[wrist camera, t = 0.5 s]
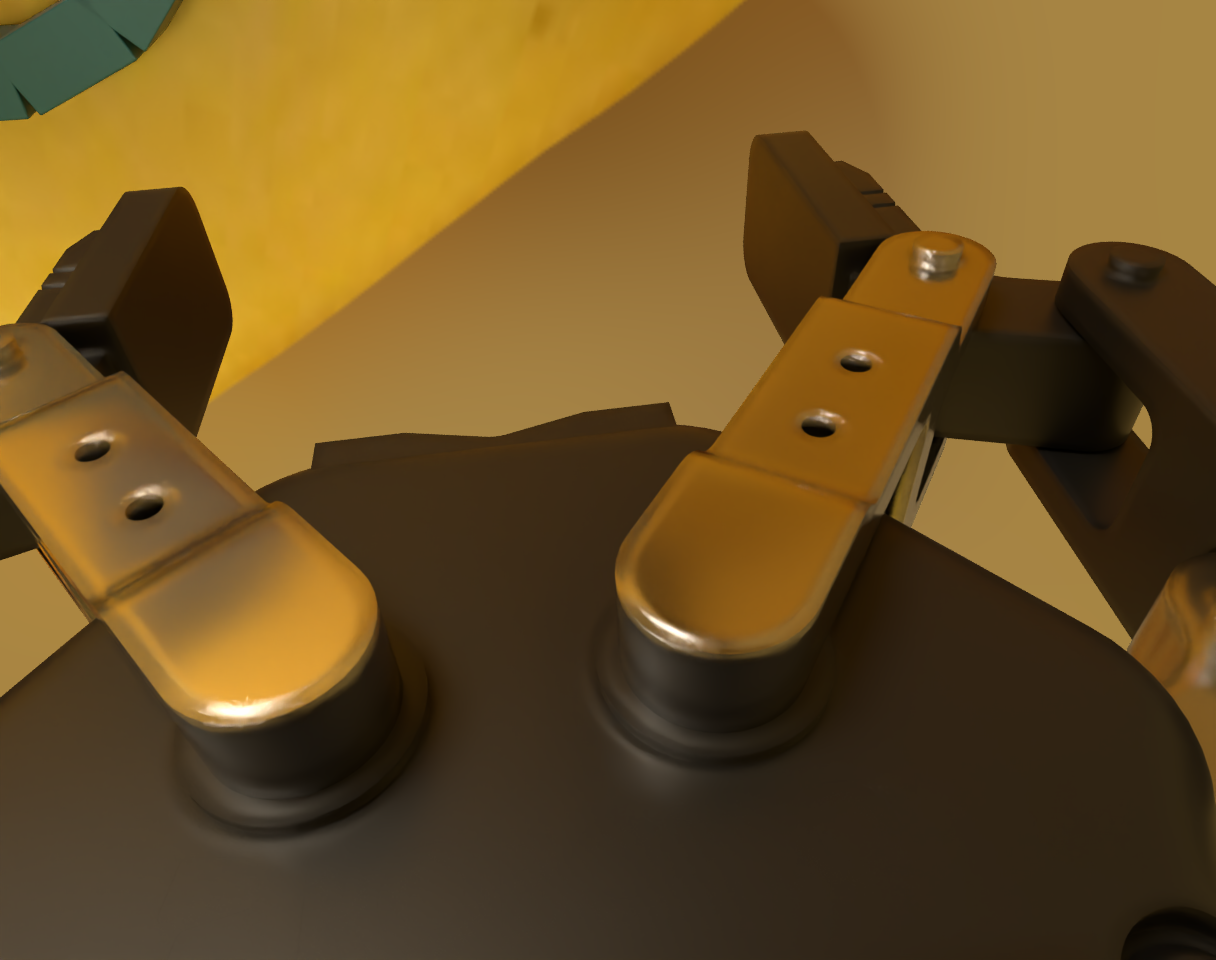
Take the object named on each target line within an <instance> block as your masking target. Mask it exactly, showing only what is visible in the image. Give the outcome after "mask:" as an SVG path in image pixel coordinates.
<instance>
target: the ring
mask: <svg viewBox="0 0 1216 960" xmlns="http://www.w3.org/2000/svg"><path fill="white" fill-rule="evenodd" d="M182 1H183V0H59V1H58V2H56V3H54V4H53V5H51V6H49V7H48V8H46V9H44V10H43V11H41V12H39V13H38V14H36V15H34V16H33V17H31V18H29V19H28V20H26V21H24V22H23V23H21V24H18V25H2V26H0V121H7V120H21V119H29V118H30V117H31V116H32V115H33V114H34V113H35V112H36V111H37V112H38V113H39V114H40V115H43V114H45V113H47V112H48V111H50V110H52V109H54V108H55V107H57V106H59V105H61V104H62V103H64V102H66V101H67V100H69V99H71V98H73V97H74V96H76V95H78V94H80V93H81V92H83V91H85V90H86V89H88V88H90V87H92V86H93V85H95V84H97V83H99V82H100V81H102V80H104V79H105V78H107V77H109V76H111V75H112V74H114V73H116V72H118V71H119V70H121V69H123V68H124V67H126V66H128V65H130V64H131V63H133V62H135V61H136V60H137V59H138V58H139V57H140V56H141V55H142V54H143V53H144V52H145V51H147V49H148V48H149V47H150V46H151V45H152V44H153V43H154V42H155V41H156V40H157V38H158V37H159V36H160V35H161V34H162V33H163V32H164V31H165V30H166V28H167V27H168V25H169V23H170V21H171V20H172V18H173V16H174V15H175V13H176V11H177V10H178V8H179V6H180V4H181V3H182Z"/></svg>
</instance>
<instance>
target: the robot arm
mask: <svg viewBox="0 0 1216 960" xmlns="http://www.w3.org/2000/svg"><path fill="white" fill-rule="evenodd" d="M743 243H744V245H743V247H744V260H745V266H746V271H747V274H748V277H749V280H750V281H751V283H752V285H753V287H754V289H755V291H756V293H757V294H758V296H759V298H760V300H761V302H762V304H763V306H764V307H765V309H766V311H767V313H768V315H769V317H770V318H771V320H772V322H773V324H774V326H775V328H776V330H777V332H778V333H779V335H780V337H781V339H782V341H783V343H784V346H783V348H782V349H781V350H780V352H779V353H778V355H777V356H776V357H775V359H774V360H773V362H772V363H771V364H770V366H769V367H768V368H767V370H766V371H765V373H764V374H763V375H762V377H761V378H760V380H759V381H758V383H757V384H756V385H755V387H754V388H753V389H752V391H751V392H750V394H749V395H748V396H747V398H746V399H745V401H744V402H743V403H742V405H741V406H740V408H739V409H738V410H737V412H736V413H735V415H734V416H733V417H732V419H731V420H730V422H729V423H728V424H727V426H726V427H725V429H724V430H723V431H722V432H721V431H716V430H712V429H707V428H701V427H694V426H686V425H676V422H675V419H674V416H673V413H672V410H671V407H670V404H669V402H666V403H658V404H650V405H642V406H632V407H624V408H615V409H607V410H598V411H589V412H583V413H579V414H576V415H572V416H569V417H565V418H562V419H559V420H555V421H551V422H548V423H545V424H541V425H538V426H534V427H531V428H528V429H524V430H520V431H517V432H513V433H510V434H507V435H502V436H496V437H478V436H457V435H435V434H416V433H400V434H392V435H383V436H374V437H365V438H357V439H348V440H340V441H331V442H322V443H316V444H315V448H314V455H313V461H312V466H311V469H307V470H304V471H301V472H298V473H295V474H292V475H290V476H287V477H284V478H282V479H279V480H277V481H275V482H273V483H271V484H269V485H266V486H264V487H262V488H260V489H259V490H257V491H255V492H254V491H253V490H252V489H251V488H250V487H249V486H248V485H247V484H246V483H245V482H243V480H241V479H240V478H239V477H238V476H237V475H236V474H235V473H234V472H233V471H232V470H231V469H230V468H229V467H227V466H226V465H225V464H224V463H223V462H222V461H221V460H220V459H219V458H218V457H217V456H215V455H214V454H213V453H212V452H211V451H210V450H209V449H208V448H207V447H206V446H205V445H204V444H203V443H201V442H200V441H199V440H198V439H197V438H196V437H197V434H198V431H199V427H200V425H201V422H202V419H203V416H204V413H205V410H206V407H207V404H208V401H209V398H210V395H211V392H212V389H213V386H214V383H215V380H216V377H217V374H218V371H219V368H220V365H221V362H222V359H223V356H224V353H225V350H226V347H227V344H228V341H229V338H230V335H231V332H232V322H233V320H232V309H231V303H230V298H229V295H228V291H227V288H226V285H225V283H224V280H223V277H222V274H221V272H220V269H219V266H218V264H217V261H216V258H215V255H214V253H213V250H212V247H211V245H210V242H209V239H208V236H207V234H206V231H205V228H204V225H203V223H202V220H201V217H200V215H199V212H198V209H197V207H196V204H195V202H194V200H193V198H192V197H191V195H190V193H189V192H188V191H187V190H186V189H185V188H183V187H173V188H162V189H151V190H140V191H129V192H125V193H124V194H123V195H122V197H121V198H120V200H119V202H118V203H117V205H116V206H115V208H114V209H113V211H112V212H111V214H110V215H109V217H108V218H107V220H106V222H105V223H104V225H103V226H102V228H101V229H100V230H96V231H93V232H91V233H90V234H88V235H87V236H85V237H84V238H83V239H81V240H80V241H78V242H77V243H75V244H74V245H72V246H71V247H69V248H68V249H66V251H65V252H64V254H63V255H62V256H61V258H60V259H59V261H58V262H57V264H56V265H55V267H54V268H53V273H50V274H49V275H48V277H47V278H46V280H45V281H44V283H43V284H42V290H38V291H37V293H36V294H35V296H34V297H33V299H32V300H31V301H30V303H29V304H28V306H27V307H26V309H25V310H24V312H23V313H22V315H21V316H20V317H19V319H18V320H17V322H16V323H15V324H7V325H2V326H0V560H3V559H6V558H9V557H12V556H15V555H18V554H21V553H23V552H27V551H30V550H33V549H37V550H38V552H39V554H40V555H41V556H42V558H43V559H44V561H45V562H46V563H47V565H48V566H49V568H50V569H51V570H52V572H53V573H54V575H55V576H56V577H57V579H58V580H59V581H60V583H61V584H62V586H63V587H64V588H65V590H66V591H67V592H68V594H69V595H70V597H71V598H72V599H73V601H74V602H75V603H76V605H77V606H78V608H79V609H80V610H81V612H82V613H83V614H84V616H85V617H86V619H87V620H88V621H89V624H88V625H87V626H86V627H85V628H83V629H82V630H81V631H80V632H78V633H77V634H76V635H75V636H74V637H72V638H71V639H70V640H69V641H68V642H66V643H65V644H64V645H63V646H62V647H60V648H59V649H58V650H57V651H56V652H55V653H53V654H52V655H51V656H50V657H48V658H47V659H46V660H45V661H44V662H42V663H41V664H40V665H39V666H38V667H36V668H35V669H34V670H33V671H32V672H30V673H29V674H28V675H27V676H26V677H24V678H23V679H22V680H21V681H20V682H18V683H17V684H16V685H15V686H14V687H12V688H11V689H10V690H9V691H8V692H6V693H5V694H4V695H3V696H2V697H0V960H1216V286H1215V285H1214V284H1212V283H1211V282H1210V281H1209V280H1208V279H1206V278H1205V277H1204V276H1203V275H1202V274H1200V273H1199V272H1198V271H1197V270H1196V269H1194V268H1193V267H1192V266H1191V265H1190V264H1188V263H1187V262H1185V261H1184V260H1182V259H1180V258H1178V257H1177V256H1175V255H1172V254H1170V253H1168V252H1165V251H1162V250H1159V249H1156V248H1153V247H1149V246H1145V245H1140V244H1134V243H1126V242H1099V243H1092V244H1087V245H1084V246H1082V247H1079V248H1077V249H1076V250H1074V251H1073V252H1072V253H1071V254H1070V256H1069V258H1068V262H1067V264H1066V267H1065V270H1064V273H1063V276H1062V279H1061V281H1048V280H1034V279H1018V278H1006V277H999V276H994V272H995V268H996V259H995V257H994V255H993V254H992V253H991V252H990V251H989V250H988V249H987V248H986V247H984V246H983V245H981V244H979V243H977V242H975V241H973V240H971V239H968V238H965V237H962V236H959V235H955V234H950V233H944V232H936V231H921V230H920V229H919V228H918V227H917V226H916V225H915V224H914V222H913V221H912V220H911V219H910V218H909V217H908V216H907V215H906V214H905V213H904V211H903V210H902V209H901V208H900V207H899V206H895V202H894V201H893V199H891V197H890V196H889V195H888V194H887V193H883V189H882V188H881V186H880V185H879V184H878V183H877V182H876V181H875V180H874V179H873V178H872V177H871V175H870V174H868V173H866V172H864V171H862V170H860V169H858V168H856V167H854V166H852V165H850V164H848V163H846V162H843V161H836V162H834V161H833V160H832V159H831V158H830V157H829V156H828V154H827V153H826V152H825V151H824V150H823V148H822V147H821V146H820V145H819V144H818V143H817V141H816V140H815V139H814V138H813V137H812V136H811V135H810V133H809V132H807V131H796V132H786V133H775V134H763V135H756V136H755V137H754V139H753V142H752V145H751V149H750V157H749V170H748V184H747V197H746V211H745V225H744V240H743ZM1143 405H1144V406H1145V407H1146V409H1147V411H1148V413H1149V416H1150V419H1151V423H1152V442H1151V446H1150V449H1148V448H1147V447H1146V445H1145V444H1144V443H1143V442H1142V441H1141V439H1140V438H1139V437H1138V436H1137V435H1136V434H1135V433H1134V431H1133V430H1132V427H1133V425H1134V423H1135V421H1136V419H1137V417H1138V415H1139V413H1140V410H1141V408H1142V406H1143ZM947 438H954V439H964V440H974V441H985V442H996V443H1005V444H1006V446H1007V450H1008V452H1009V454H1010V456H1011V457H1012V459H1013V460H1014V462H1015V463H1016V465H1017V466H1018V468H1019V469H1020V471H1021V472H1022V474H1023V475H1024V477H1025V478H1026V480H1027V481H1028V483H1029V485H1030V486H1031V488H1032V489H1033V490H1034V492H1035V494H1036V495H1037V497H1038V498H1039V499H1040V501H1041V503H1042V504H1043V506H1044V507H1045V509H1046V510H1047V512H1048V513H1049V515H1050V516H1051V518H1052V519H1053V521H1054V522H1055V524H1056V525H1057V527H1058V528H1059V530H1060V531H1061V533H1062V534H1063V536H1064V537H1065V539H1066V540H1067V542H1068V543H1069V545H1070V546H1071V548H1072V550H1073V551H1074V552H1075V554H1076V556H1077V557H1078V559H1079V560H1080V562H1081V563H1082V565H1083V566H1084V568H1085V569H1086V571H1087V572H1088V574H1089V575H1090V577H1091V578H1092V579H1093V581H1094V583H1095V584H1096V586H1097V587H1098V589H1099V590H1100V592H1101V593H1102V595H1103V596H1104V598H1105V599H1106V601H1107V602H1108V604H1109V605H1110V607H1111V608H1112V610H1113V611H1114V613H1115V615H1116V616H1117V618H1118V619H1119V621H1120V622H1121V623H1122V625H1123V627H1124V628H1125V629H1126V631H1127V633H1128V634H1129V636H1130V637H1131V639H1132V641H1131V643H1130V645H1129V646H1128V648H1127V651H1125V650H1124V649H1123V648H1121V647H1120V646H1119V645H1117V644H1116V643H1115V642H1113V641H1112V640H1111V639H1109V638H1107V637H1106V636H1104V635H1102V634H1101V633H1099V632H1097V631H1096V630H1094V629H1092V628H1091V627H1089V626H1087V625H1085V624H1084V623H1082V622H1080V621H1078V620H1076V619H1075V618H1073V617H1071V616H1069V615H1067V614H1066V613H1064V612H1062V611H1060V610H1058V609H1057V608H1055V607H1053V606H1051V605H1049V604H1047V603H1046V602H1044V601H1042V600H1040V599H1038V598H1036V597H1035V596H1033V595H1031V594H1029V593H1028V592H1026V591H1024V590H1022V589H1020V588H1019V587H1017V586H1015V585H1013V584H1011V583H1010V582H1008V581H1006V580H1004V579H1002V578H1001V577H999V576H997V575H995V574H993V573H992V572H989V571H988V570H986V569H984V568H983V567H981V566H979V565H977V564H975V563H974V562H972V561H970V560H968V559H966V558H965V557H963V556H961V555H959V554H957V553H955V552H954V551H952V550H950V549H948V548H946V547H945V546H943V545H941V544H939V543H937V542H935V541H934V540H932V539H930V538H928V537H926V536H925V535H923V534H921V533H919V532H918V531H916V530H914V529H912V528H911V526H912V524H913V522H914V519H915V517H916V514H917V512H918V509H919V507H920V505H921V502H922V500H923V498H924V495H925V493H926V490H927V488H928V485H929V483H930V481H931V478H932V476H933V474H934V471H935V469H936V466H937V464H938V462H939V459H940V457H941V454H942V452H943V450H944V446H945V443H946V440H947Z"/></svg>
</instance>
